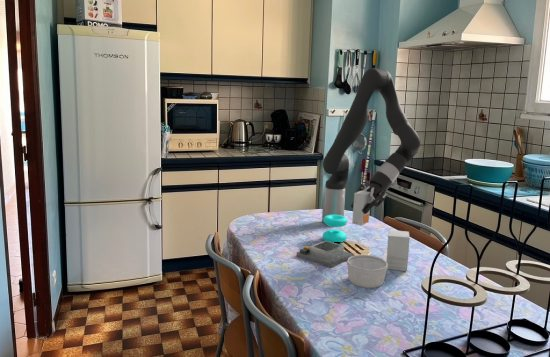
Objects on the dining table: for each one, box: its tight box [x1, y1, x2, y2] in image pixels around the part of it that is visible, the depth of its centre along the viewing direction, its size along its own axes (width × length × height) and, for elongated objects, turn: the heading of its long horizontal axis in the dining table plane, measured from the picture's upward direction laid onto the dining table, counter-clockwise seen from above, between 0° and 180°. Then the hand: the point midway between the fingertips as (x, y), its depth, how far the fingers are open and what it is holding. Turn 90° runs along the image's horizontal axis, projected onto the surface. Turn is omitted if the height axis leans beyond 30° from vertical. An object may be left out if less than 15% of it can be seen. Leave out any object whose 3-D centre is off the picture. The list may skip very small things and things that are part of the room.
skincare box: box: [351, 191, 371, 226], centre depth 175 cm, size 6×4×12 cm
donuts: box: [322, 215, 348, 243], centre depth 194 cm, size 10×10×10 cm
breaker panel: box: [296, 240, 354, 269], centre depth 175 cm, size 16×14×4 cm
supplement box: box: [386, 229, 411, 272], centre depth 166 cm, size 7×7×13 cm
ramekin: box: [346, 254, 388, 289], centre depth 154 cm, size 13×13×7 cm
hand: (358, 210), depth 174 cm, fingers closed on skincare box, 6 cm apart
